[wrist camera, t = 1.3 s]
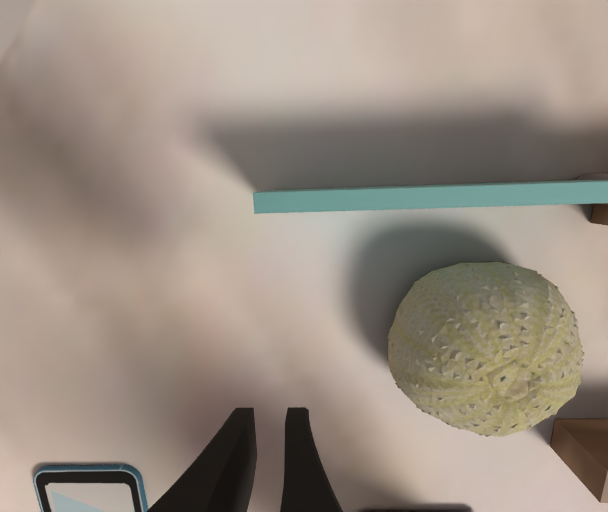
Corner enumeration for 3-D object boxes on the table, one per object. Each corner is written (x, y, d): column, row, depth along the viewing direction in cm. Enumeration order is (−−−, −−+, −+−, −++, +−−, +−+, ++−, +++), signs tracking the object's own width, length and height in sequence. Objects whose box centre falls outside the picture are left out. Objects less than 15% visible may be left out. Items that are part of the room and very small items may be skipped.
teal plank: (602, 172, 15) (706, 170, 11) (597, 201, 16) (696, 208, 12) (267, 184, 16) (251, 185, 12) (268, 211, 16) (254, 221, 12)
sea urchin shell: (468, 461, 18) (450, 498, 11) (385, 344, 22) (340, 324, 16) (617, 369, 16) (693, 352, 10) (494, 263, 21) (492, 204, 14)
